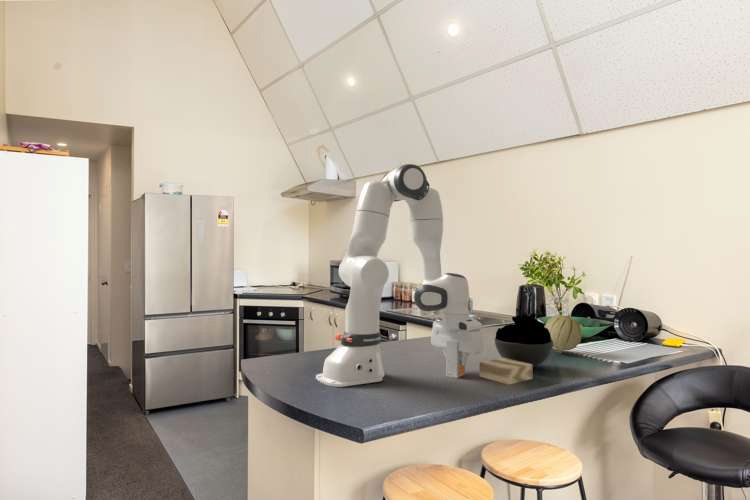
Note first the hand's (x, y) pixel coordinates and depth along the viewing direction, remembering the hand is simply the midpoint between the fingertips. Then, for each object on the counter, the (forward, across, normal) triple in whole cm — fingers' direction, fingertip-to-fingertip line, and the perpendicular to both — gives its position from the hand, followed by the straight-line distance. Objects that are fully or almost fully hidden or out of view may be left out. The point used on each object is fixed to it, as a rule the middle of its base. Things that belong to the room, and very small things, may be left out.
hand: (455, 363), depth 162 cm
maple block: (+4, +12, +11) cm, 17 cm away
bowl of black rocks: (+4, +8, +27) cm, 29 cm away
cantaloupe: (+4, +1, +65) cm, 65 cm away
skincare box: (+4, 0, 0) cm, 4 cm away
